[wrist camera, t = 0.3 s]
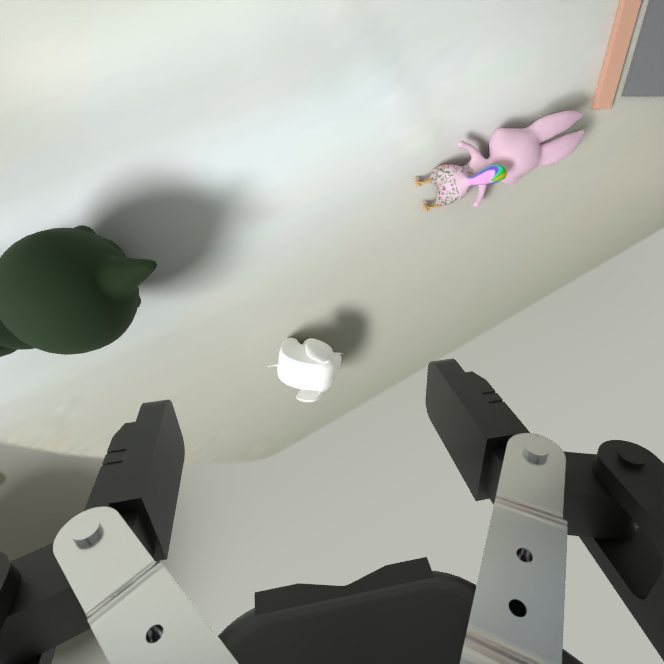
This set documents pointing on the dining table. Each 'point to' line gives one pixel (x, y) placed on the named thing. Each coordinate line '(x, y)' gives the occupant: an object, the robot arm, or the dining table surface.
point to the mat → (648, 55)
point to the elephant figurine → (308, 367)
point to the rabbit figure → (506, 157)
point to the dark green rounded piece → (67, 292)
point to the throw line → (616, 53)
